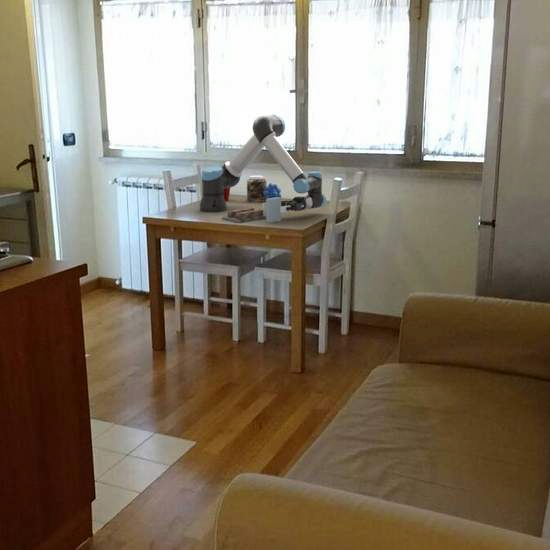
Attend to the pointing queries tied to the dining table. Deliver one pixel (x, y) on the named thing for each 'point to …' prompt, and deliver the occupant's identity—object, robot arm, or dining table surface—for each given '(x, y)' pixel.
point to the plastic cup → (226, 193)
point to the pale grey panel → (273, 209)
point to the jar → (256, 189)
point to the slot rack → (244, 215)
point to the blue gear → (272, 191)
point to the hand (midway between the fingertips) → (271, 207)
